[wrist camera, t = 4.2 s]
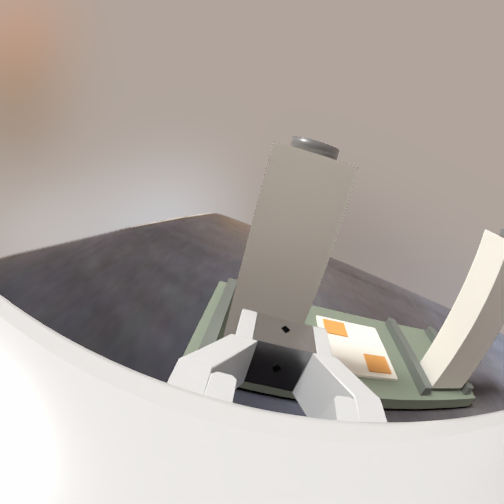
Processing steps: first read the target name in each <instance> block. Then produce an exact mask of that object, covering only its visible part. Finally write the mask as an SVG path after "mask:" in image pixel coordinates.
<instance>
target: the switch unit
mask: <svg viewBox="0 0 504 504" xmlns="http://www.w3.org/2000/svg"><path fill="white" fill-rule="evenodd" d="M236 284H237V280H235V279H232V278H229V279H228V282H227V283H226V282H222V281H220V282H219V284H218V286H217V288H216V290H215V292H214V294H213V296H212V298H211V300H210V302H209V304H208V306H207V308H206V310H205V312H204V314H203V316H202V318H201V320H200V322H199V324H198V326H197V328H196V330H195V332H194V334H193V336H192V339H191V341H190V343H189V345H188V347H187V349H186V351H185V353H184V355H183V357H184V356H186V355H188V354H190V353H192V352H194V351H197V350H199V349H201V348H203V347H205V346H207V345H209V344H211V343H213V342H216V341H218V340H220V339H222V338H223V336H224V332H225V328H226V324H227V320H228V316H229V312H230V308H231V304H232V300H233V296H234V292H235V288H236ZM304 324H306V325H310V326H316V327H321V328H325V329H326V330H327V334H328V339H329V343H330V347H331V352H332V356H333V357H336V358H337V359H339V360H340V361H341V362H342V363H343V364H344V365H345V366H346V367H347V368H348V369H349V370H350V371H351V372H352V373H353V374H354V375H355V376H356V377H357V378H358V379H360V380H361V381H362V382H363V383H364V384H365V385H366V386H367V387H368V388H369V389H370V390H371V391H372V392H373V393H374V394H375V395H377V396H378V397H379V398H380V400H381V403H382V406H383V408H387V409H433V408H451V407H463V406H469V405H470V404H471V403H472V402H473V401H474V399H475V396H474V394H473V393H472V390H473V389H474V387H473V385H472V384H471V382H470V381H469V379H468V380H467V382H466V383H465V384H464V385H463V387H462V388H433V387H432V385H431V383H430V381H429V379H428V377H427V375H426V374H425V372H424V370H423V368H422V366H421V364H420V362H421V360H422V359H423V357H424V355H425V354H426V352H427V351H428V349H429V348H430V346H431V344H432V343H433V341H434V340H435V338H436V336H437V335H438V333H437V332H436V331H435V329H434V328H433V327H430V326H428V327H427V329H426V330H422V329H417V328H412V327H407V326H402V325H398V324H397V322H396V321H395V319H392V318H388V319H387V321H386V322H383V321H378V320H374V319H369V318H365V317H360V316H356V315H351V314H347V313H343V312H338V311H334V310H330V309H326V308H322V307H317V306H313V305H312V306H311V308H310V311H309V313H308V316H307V318H306V320H305V323H304ZM239 387H240V388H244V389H248V390H253V391H257V392H262V393H267V394H271V395H276V396H282V397H287V398H293V399H296V398H295V396H294V395H293V393H292V391H287V390H282V389H278V388H273V387H269V386H264V385H259V384H254V383H249V382H243V383H242V384H241V385H240V386H239Z"/></svg>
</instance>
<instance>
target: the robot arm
mask: <svg viewBox="0 0 504 504" xmlns="http://www.w3.org/2000/svg"><path fill="white" fill-rule="evenodd" d="M243 382H249V383H254V384H259V385H264V386H269V387H273V388H278V389H282V390H287V391H292V393H293V395H294V396H295V398H296V400H297V401H298V403H299V404H300V406H301V408H302V409H303V411H304V412H305V414H306V416H307V417H304V416H297V415H291V414H284V413H278V412H273V411H268V410H262V409H258V408H253V407H248V406H244V405H240V404H235V403H232V401H233V396H234V391H235V389H236V388H238V387H239V386H240V385H241V384H242V383H243ZM0 504H504V410H502V411H498V412H493V413H488V414H483V415H477V416H471V417H464V418H456V419H447V420H437V421H424V422H393V423H388V422H387V420H386V416H385V413H384V410H383V406H382V403H381V400H380V398H379V397H378V396H377V395H375V394H374V393H373V392H372V391H371V390H370V389H369V388H368V387H367V386H366V385H365V384H364V383H363V382H362V381H361V380H360V379H358V378H357V377H356V376H355V375H354V374H353V373H352V372H351V371H350V370H349V369H348V368H347V367H346V366H345V365H344V364H343V363H342V362H341V361H340V360H339V359H337V358H336V357H333V356H332V352H331V347H330V343H329V339H328V334H327V330H326V329H325V328H321V327H316V326H310V325H306V324H301V323H296V322H291V321H286V320H284V319H280V318H276V317H273V316H269V315H265V314H262V313H258V312H255V311H251V310H247V309H242V312H241V316H240V319H239V323H238V327H237V330H236V334H235V335H234V334H230V335H228V336H226V337H224V338H222V339H220V340H218V341H216V342H213V343H211V344H209V345H207V346H205V347H203V348H201V349H199V350H197V351H194V352H192V353H190V354H188V355H186V356H184V357H181V358H179V360H178V362H177V364H176V366H175V368H174V370H173V372H172V374H171V376H170V378H169V380H168V382H167V383H165V382H163V381H160V380H157V379H154V378H152V377H149V376H147V375H144V374H142V373H139V372H137V371H134V370H132V369H129V368H127V367H125V366H122V365H120V364H118V363H116V362H113V361H111V360H109V359H107V358H105V357H103V356H101V355H98V354H96V353H94V352H92V351H90V350H88V349H86V348H84V347H82V346H81V345H79V344H77V343H75V342H73V341H71V340H69V339H68V338H66V337H64V336H62V335H60V334H59V333H57V332H55V331H54V330H52V329H50V328H49V327H47V326H45V325H44V324H42V323H40V322H39V321H37V320H36V319H34V318H33V317H31V316H29V315H28V314H26V313H25V312H23V311H22V310H21V309H19V308H18V307H16V306H15V305H13V304H12V303H11V302H9V301H8V300H6V299H5V298H4V297H2V296H1V295H0Z"/></svg>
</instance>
